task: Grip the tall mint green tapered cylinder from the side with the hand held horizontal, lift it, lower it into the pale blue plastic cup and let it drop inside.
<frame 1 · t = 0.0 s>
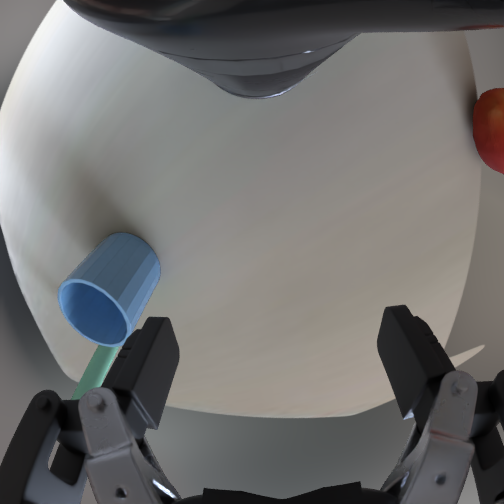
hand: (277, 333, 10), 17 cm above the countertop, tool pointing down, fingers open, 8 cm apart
tomato: (484, 125, 19), on the countertop
mint green tapered cylinder: (111, 340, 36), on the countertop
cup: (128, 264, 29), on the countertop
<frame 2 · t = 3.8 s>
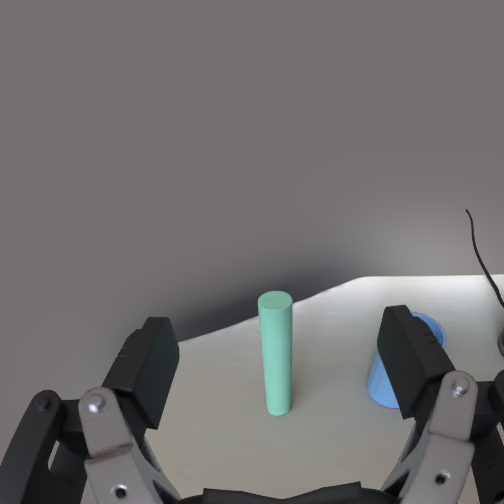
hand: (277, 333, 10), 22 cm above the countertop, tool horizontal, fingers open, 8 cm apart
mint green tapered cylinder: (278, 406, 29), on the countertop
cup: (395, 384, 29), on the countertop
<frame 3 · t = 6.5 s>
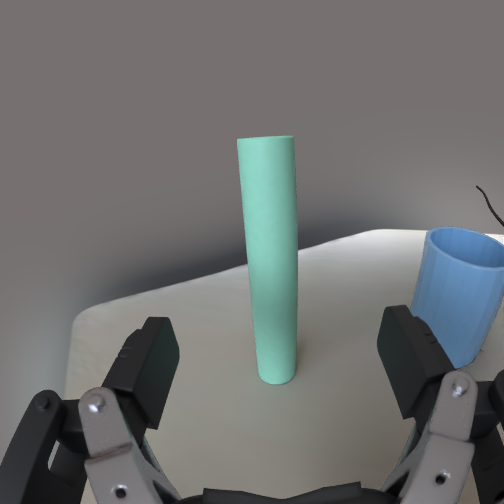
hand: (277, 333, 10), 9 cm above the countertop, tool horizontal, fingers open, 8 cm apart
mint green tapered cylinder: (276, 370, 19), on the countertop
cup: (443, 337, 19), on the countertop
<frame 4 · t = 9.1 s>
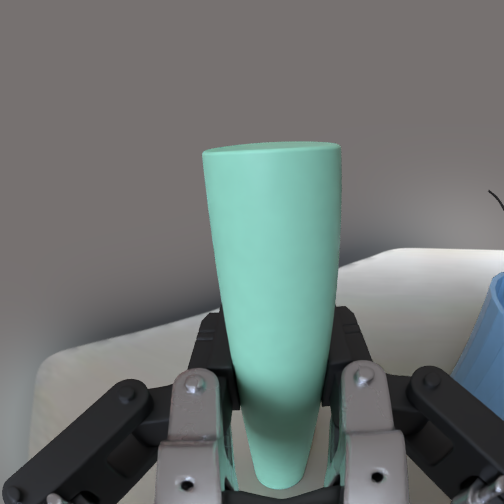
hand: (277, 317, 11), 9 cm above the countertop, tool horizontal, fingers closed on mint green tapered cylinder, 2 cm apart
mint green tapered cylinder: (280, 469, 12), on the countertop, touching gripper
cup: (483, 404, 12), on the countertop
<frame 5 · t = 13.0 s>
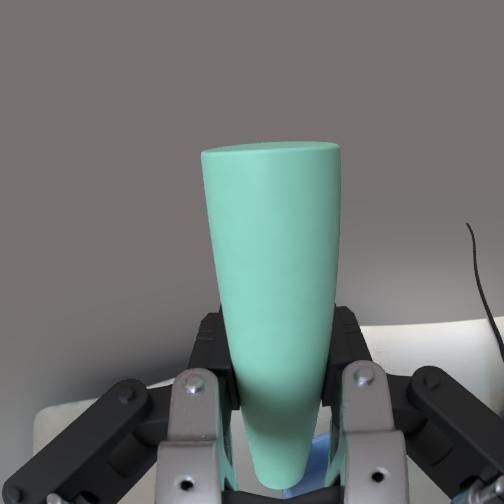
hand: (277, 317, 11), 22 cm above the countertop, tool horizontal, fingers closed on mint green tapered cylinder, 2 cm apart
mint green tapered cylinder: (280, 469, 12), point 12 cm above the countertop, touching gripper
cup: (323, 500, 17), on the countertop
when the fingers open (11 cm above the countertop, at t = 17.0 s): mint green tapered cylinder stays where it is, resting on cup.
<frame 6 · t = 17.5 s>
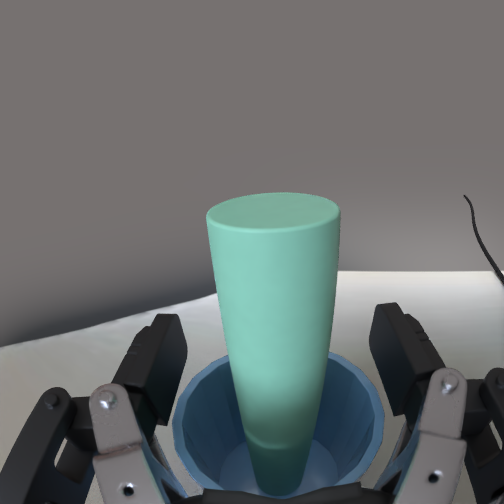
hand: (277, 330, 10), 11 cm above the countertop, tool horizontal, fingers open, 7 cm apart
mint green tapered cylinder: (279, 477, 12), point 1 cm above the countertop, touching cup
cup: (278, 479, 13), on the countertop, touching mint green tapered cylinder
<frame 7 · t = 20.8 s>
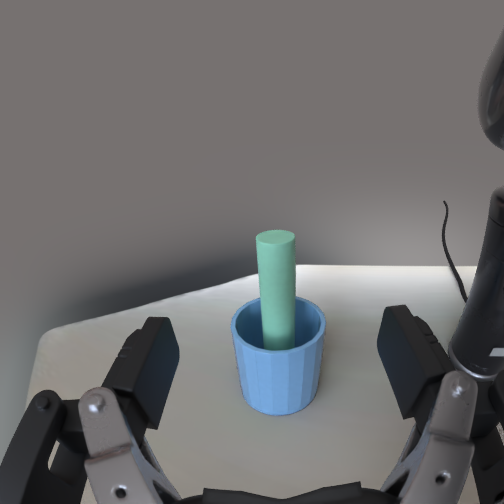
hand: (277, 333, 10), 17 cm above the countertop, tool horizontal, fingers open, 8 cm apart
mint green tapered cylinder: (279, 382, 26), point 1 cm above the countertop, touching cup
cup: (279, 385, 27), on the countertop, touching mint green tapered cylinder
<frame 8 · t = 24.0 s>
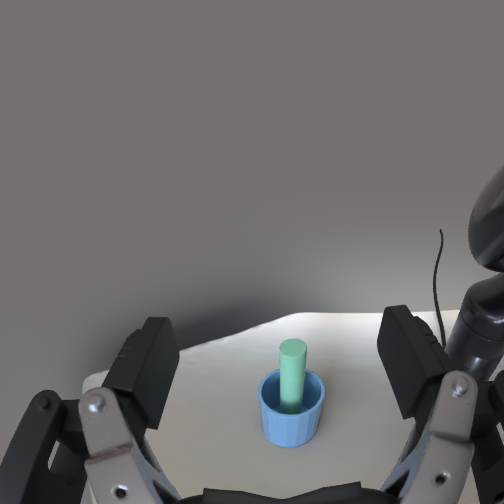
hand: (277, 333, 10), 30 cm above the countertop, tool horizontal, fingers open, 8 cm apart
mint green tapered cylinder: (290, 422, 33), point 1 cm above the countertop, touching cup
cup: (289, 424, 34), on the countertop, touching mint green tapered cylinder
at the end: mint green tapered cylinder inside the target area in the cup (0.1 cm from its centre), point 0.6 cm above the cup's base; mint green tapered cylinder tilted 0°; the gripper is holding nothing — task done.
